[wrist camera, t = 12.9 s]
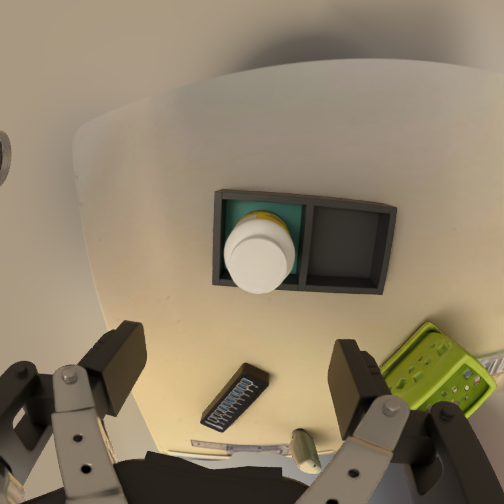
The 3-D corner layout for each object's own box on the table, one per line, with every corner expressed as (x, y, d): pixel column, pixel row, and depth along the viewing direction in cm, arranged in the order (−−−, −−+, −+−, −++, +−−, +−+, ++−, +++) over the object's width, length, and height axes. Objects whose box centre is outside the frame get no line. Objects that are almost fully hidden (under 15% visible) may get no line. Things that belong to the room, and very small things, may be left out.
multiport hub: (270, 374, 41) (270, 384, 38) (224, 424, 44) (222, 433, 42) (244, 361, 40) (243, 371, 38) (201, 414, 44) (199, 423, 42)
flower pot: (360, 372, 40) (383, 431, 28) (423, 304, 37) (468, 350, 24) (408, 400, 42) (433, 450, 29) (463, 344, 38) (501, 386, 26)
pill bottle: (293, 257, 35) (304, 297, 24) (240, 267, 36) (228, 310, 24) (283, 203, 33) (291, 219, 22) (228, 214, 34) (209, 236, 23)
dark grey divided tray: (218, 273, 37) (212, 285, 33) (220, 189, 34) (214, 191, 30) (372, 282, 36) (382, 295, 32) (383, 203, 33) (397, 207, 29)
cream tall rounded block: (325, 431, 44) (331, 465, 36) (310, 446, 45) (314, 478, 38) (297, 425, 44) (300, 460, 36) (283, 440, 45) (284, 474, 37)
